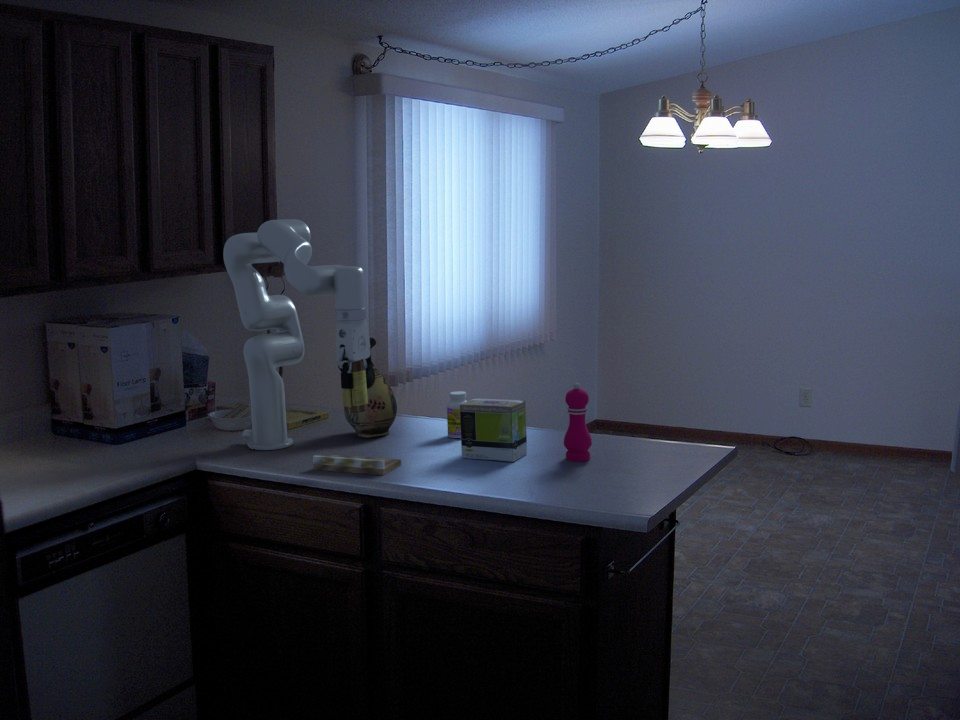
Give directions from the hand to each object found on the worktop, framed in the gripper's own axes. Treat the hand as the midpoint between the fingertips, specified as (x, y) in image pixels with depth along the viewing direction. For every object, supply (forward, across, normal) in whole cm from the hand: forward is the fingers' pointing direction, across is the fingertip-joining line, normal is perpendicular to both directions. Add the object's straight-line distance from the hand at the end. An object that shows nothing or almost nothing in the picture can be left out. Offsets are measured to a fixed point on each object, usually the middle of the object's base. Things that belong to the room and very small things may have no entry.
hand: (354, 385), depth 255 cm
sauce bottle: (+7, 0, 0) cm, 7 cm away
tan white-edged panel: (+21, -1, 0) cm, 21 cm away
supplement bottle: (+22, +38, -12) cm, 46 cm away
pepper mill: (+21, +22, -52) cm, 61 cm away
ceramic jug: (+22, +33, +14) cm, 42 cm away
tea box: (+22, +19, -30) cm, 42 cm away
